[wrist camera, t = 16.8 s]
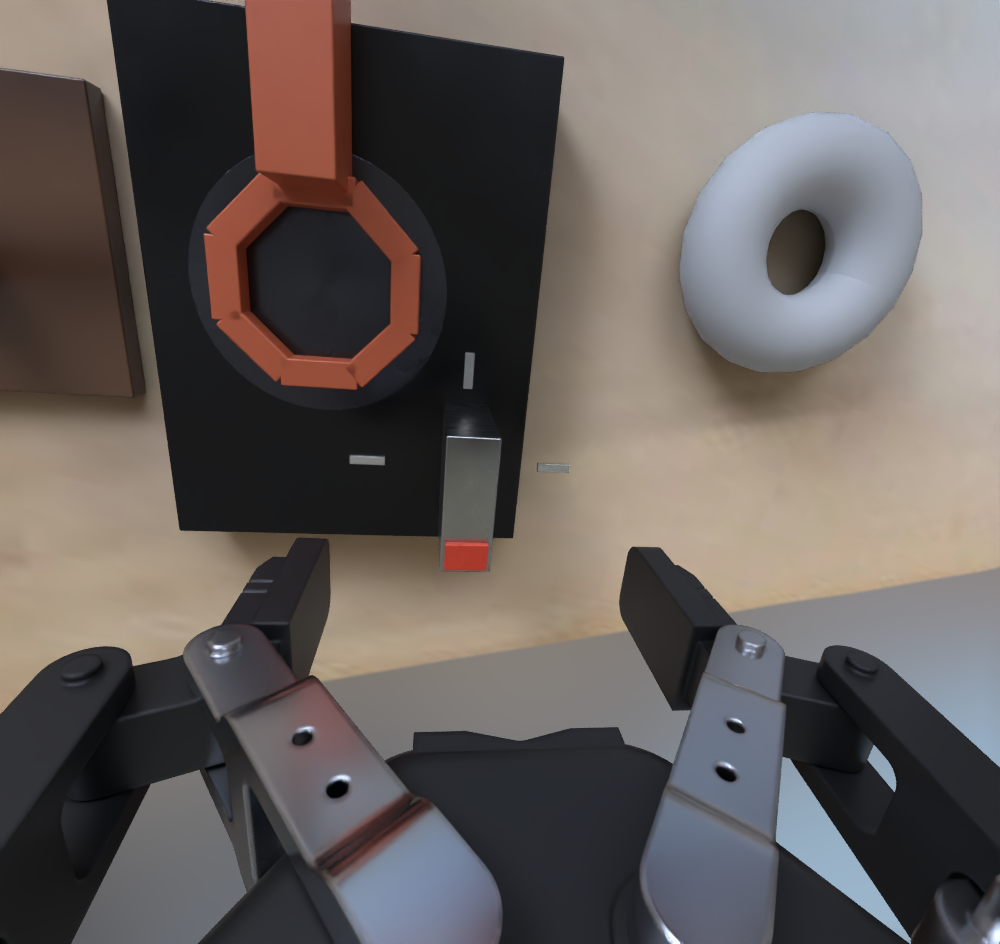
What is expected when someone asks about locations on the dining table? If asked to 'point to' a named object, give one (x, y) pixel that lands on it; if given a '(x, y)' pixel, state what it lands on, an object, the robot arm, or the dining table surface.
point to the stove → (439, 195)
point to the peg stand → (61, 244)
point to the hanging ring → (305, 187)
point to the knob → (468, 488)
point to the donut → (848, 239)
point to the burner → (324, 286)
